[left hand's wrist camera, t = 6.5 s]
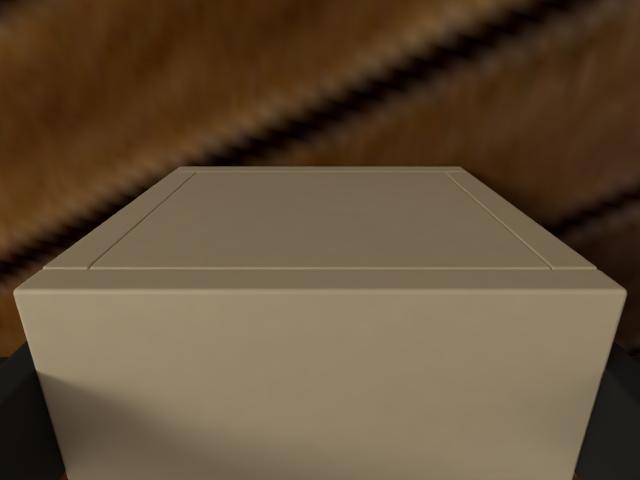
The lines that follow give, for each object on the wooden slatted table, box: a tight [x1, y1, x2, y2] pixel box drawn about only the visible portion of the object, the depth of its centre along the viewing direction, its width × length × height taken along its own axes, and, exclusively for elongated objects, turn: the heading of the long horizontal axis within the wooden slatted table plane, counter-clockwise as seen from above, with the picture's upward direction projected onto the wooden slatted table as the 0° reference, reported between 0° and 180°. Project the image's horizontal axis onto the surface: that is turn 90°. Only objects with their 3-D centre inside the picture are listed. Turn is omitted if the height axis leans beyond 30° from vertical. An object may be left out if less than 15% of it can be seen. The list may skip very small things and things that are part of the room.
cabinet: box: [14, 167, 627, 480], centre depth 16 cm, size 17×11×10 cm, turn 0°
